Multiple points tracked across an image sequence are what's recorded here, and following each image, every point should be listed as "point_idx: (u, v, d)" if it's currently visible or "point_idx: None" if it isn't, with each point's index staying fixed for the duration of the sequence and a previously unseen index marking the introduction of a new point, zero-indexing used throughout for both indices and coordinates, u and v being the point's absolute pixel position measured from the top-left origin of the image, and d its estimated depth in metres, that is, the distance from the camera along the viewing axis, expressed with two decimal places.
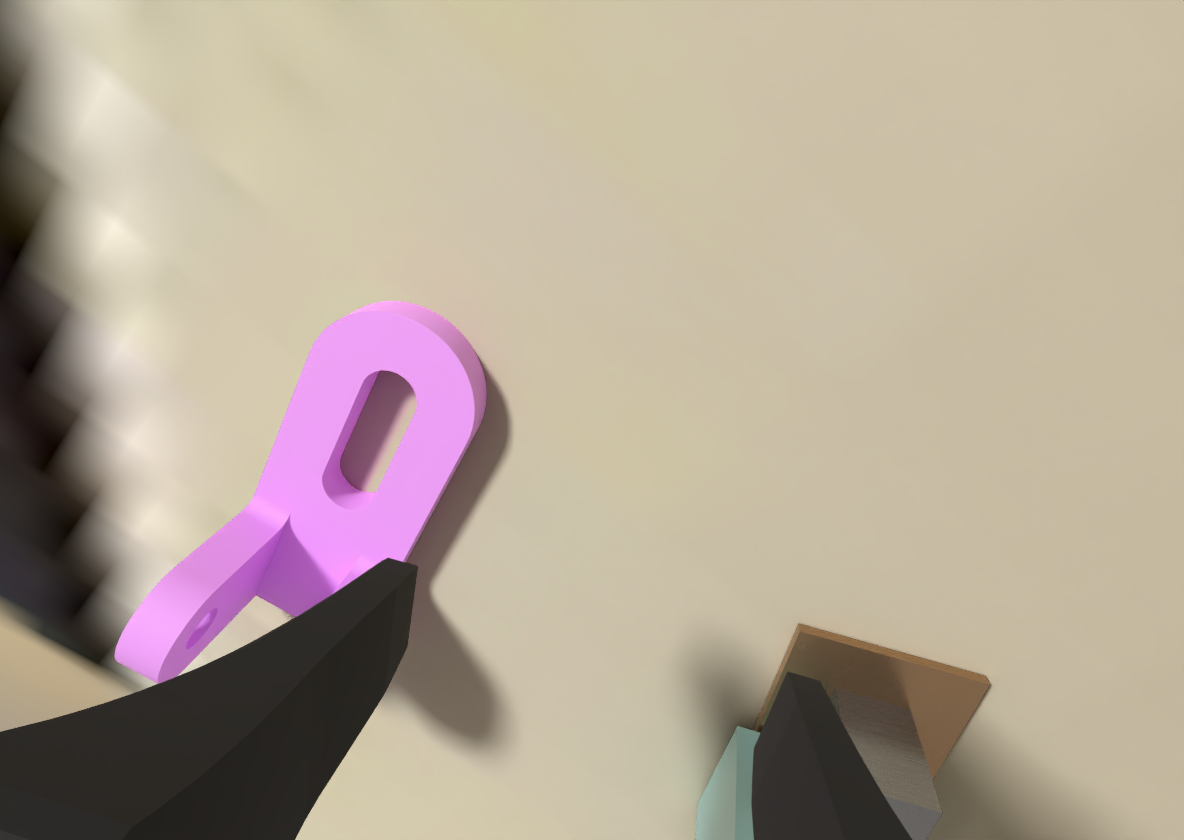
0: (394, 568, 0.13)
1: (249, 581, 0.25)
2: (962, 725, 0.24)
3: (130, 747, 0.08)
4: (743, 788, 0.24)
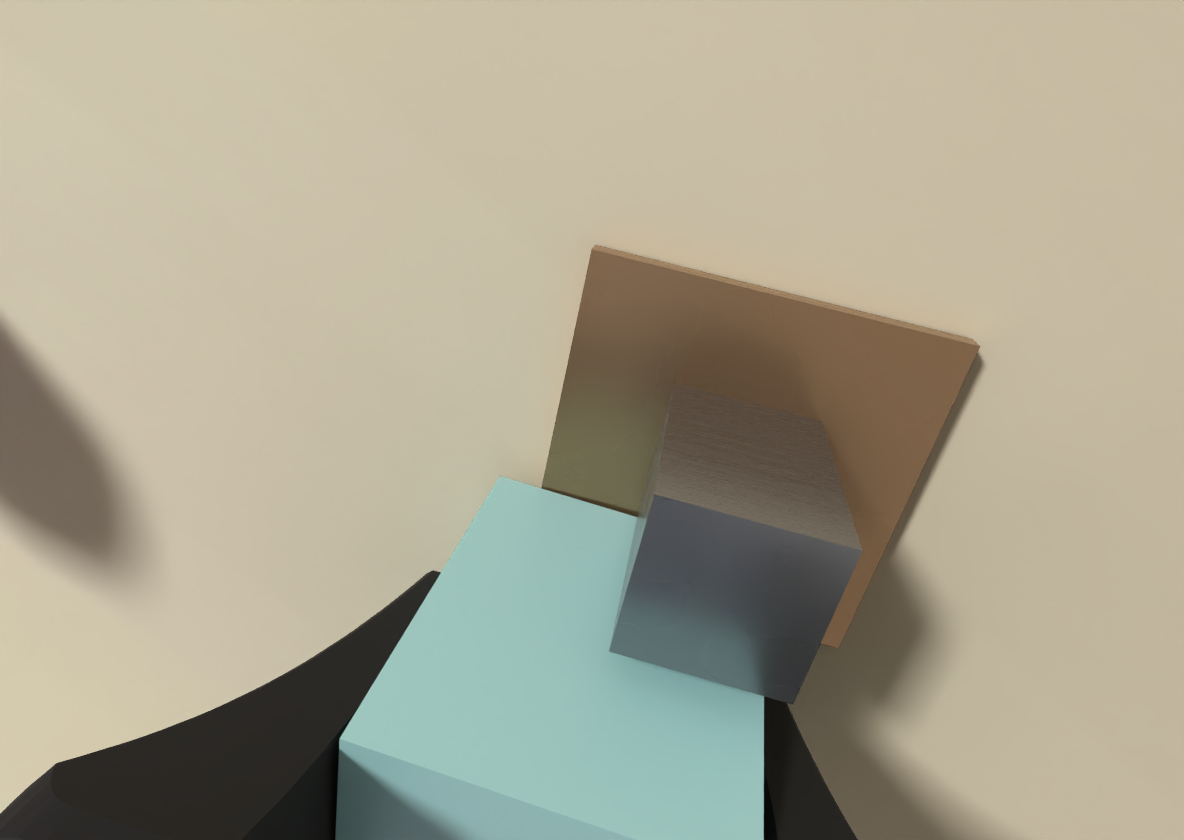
0: None
1: None
2: (926, 451, 0.12)
3: (206, 772, 0.08)
4: (468, 556, 0.12)
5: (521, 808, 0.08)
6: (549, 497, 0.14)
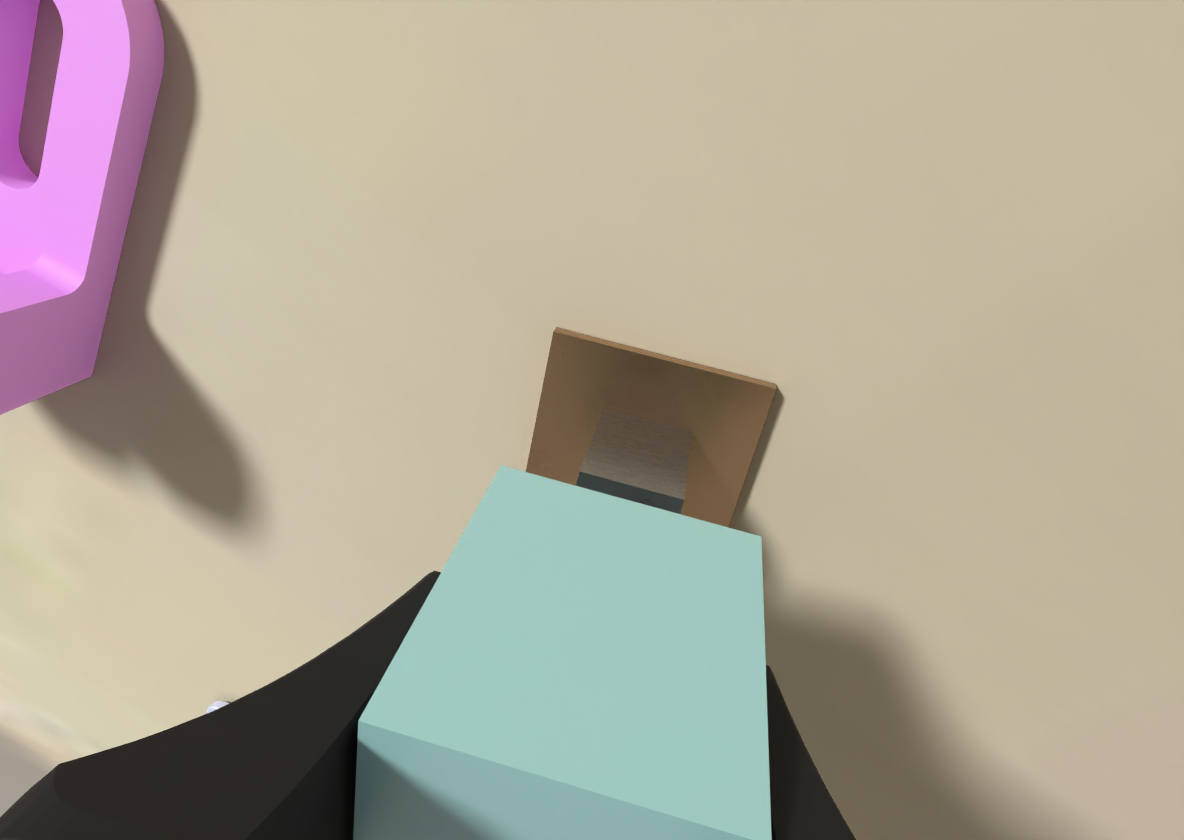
0: None
1: None
2: (752, 449, 0.21)
3: (210, 772, 0.08)
4: (474, 543, 0.12)
5: (536, 782, 0.09)
6: (550, 485, 0.14)
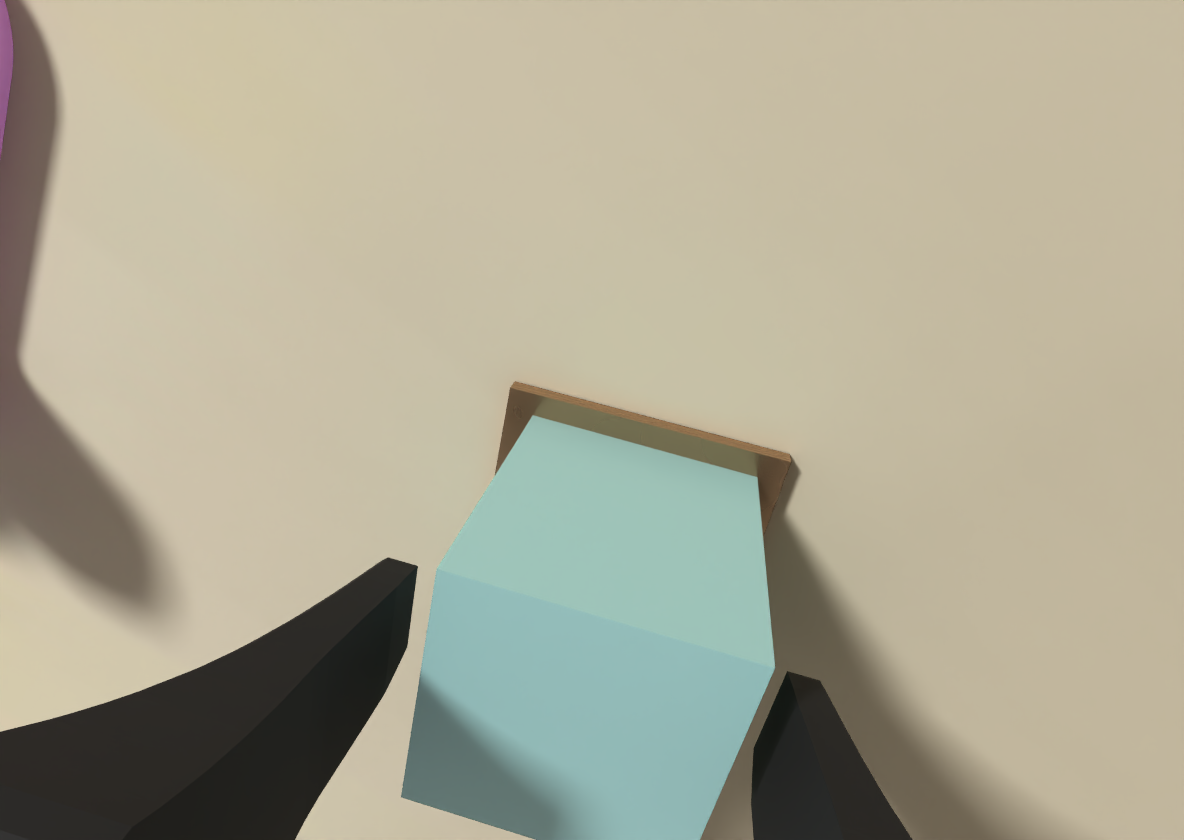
0: (395, 568, 0.13)
1: None
2: None
3: (130, 747, 0.08)
4: (516, 465, 0.14)
5: (582, 620, 0.11)
6: (575, 431, 0.16)
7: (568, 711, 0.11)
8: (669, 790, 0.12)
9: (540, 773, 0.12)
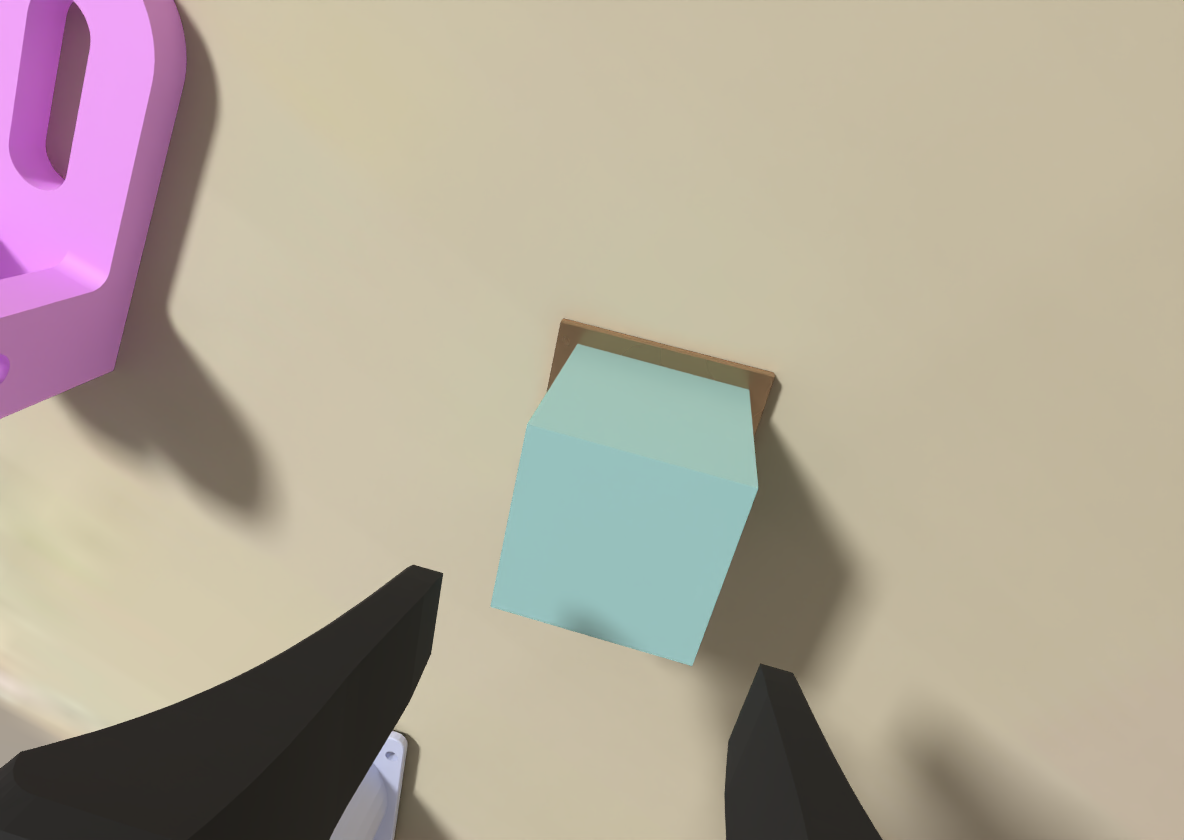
0: (421, 576, 0.13)
1: None
2: None
3: (173, 761, 0.08)
4: (570, 372, 0.19)
5: (627, 459, 0.16)
6: (610, 354, 0.21)
7: (615, 529, 0.16)
8: (685, 588, 0.17)
9: (593, 580, 0.17)
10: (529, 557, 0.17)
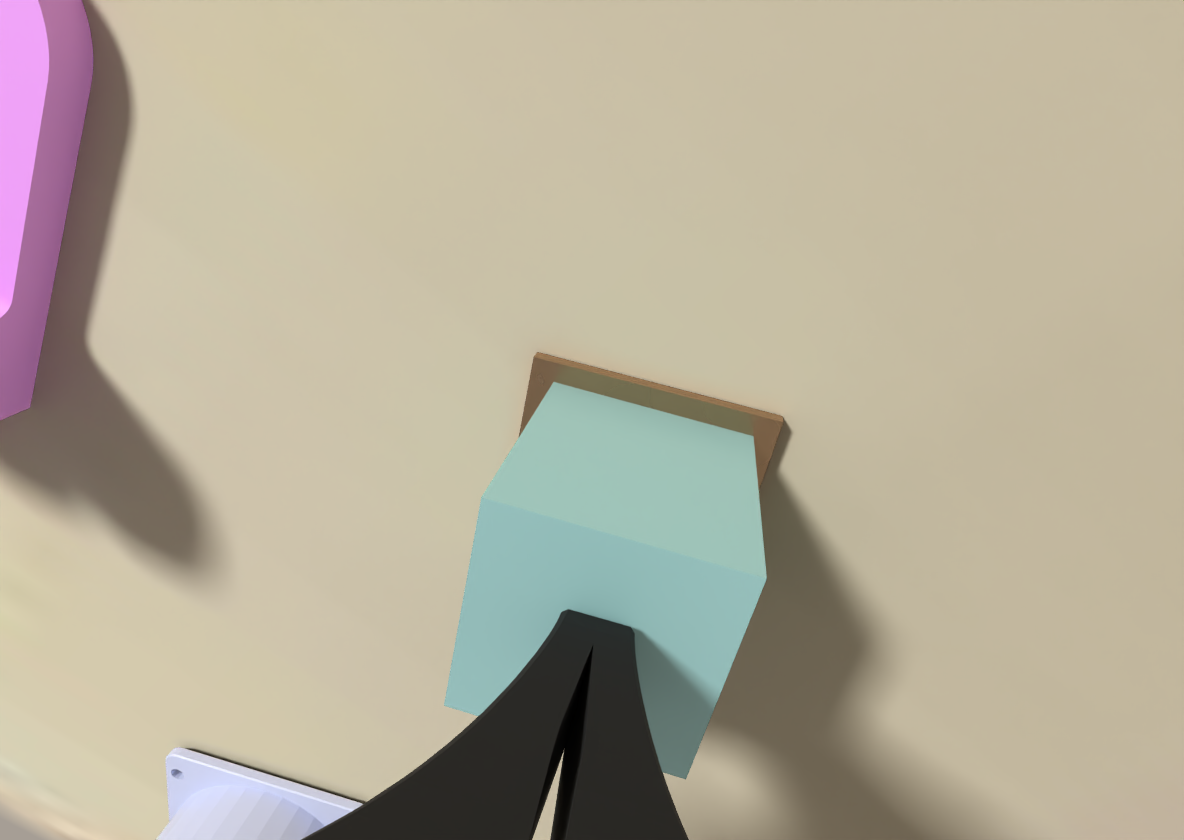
0: (582, 622, 0.13)
1: None
2: None
3: None
4: (542, 421, 0.16)
5: (604, 540, 0.13)
6: (592, 395, 0.18)
7: None
8: (677, 691, 0.14)
9: None
10: (488, 651, 0.14)
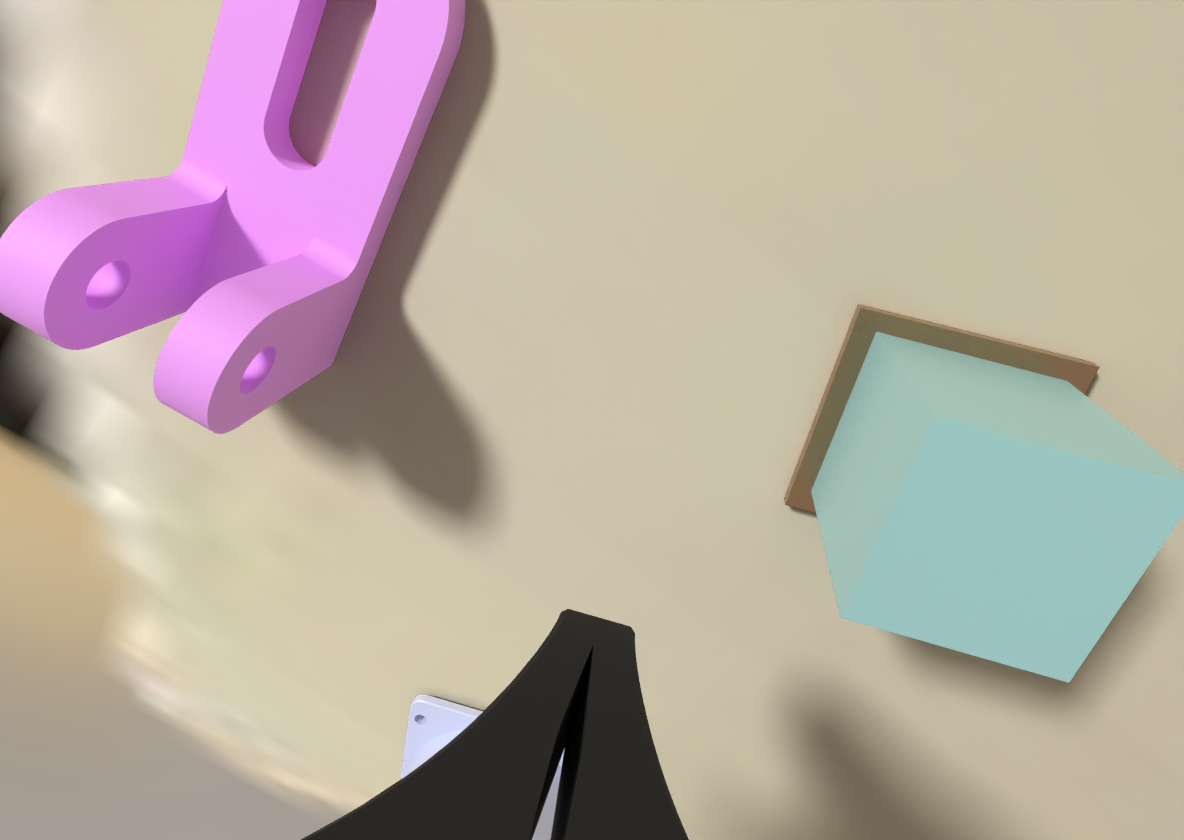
0: (582, 622, 0.13)
1: (176, 265, 0.20)
2: None
3: None
4: (905, 361, 0.17)
5: (1047, 455, 0.14)
6: (916, 343, 0.19)
7: (1014, 532, 0.15)
8: (1082, 598, 0.15)
9: (972, 589, 0.15)
10: (900, 563, 0.16)
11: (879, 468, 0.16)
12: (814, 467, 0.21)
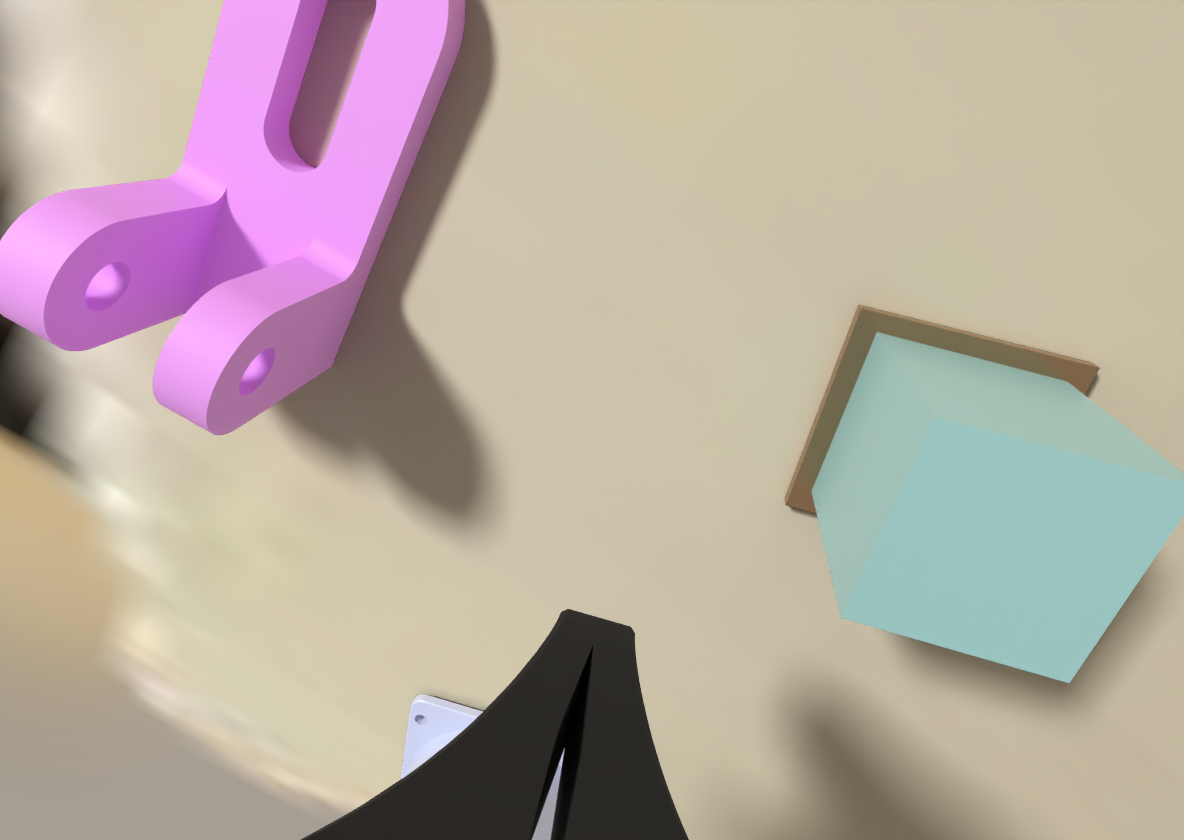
0: (581, 622, 0.13)
1: (176, 267, 0.20)
2: None
3: None
4: (905, 361, 0.17)
5: (1048, 455, 0.14)
6: (916, 343, 0.19)
7: (1014, 533, 0.15)
8: (1083, 598, 0.15)
9: (973, 589, 0.15)
10: (901, 564, 0.16)
11: (880, 468, 0.16)
12: (814, 467, 0.21)
